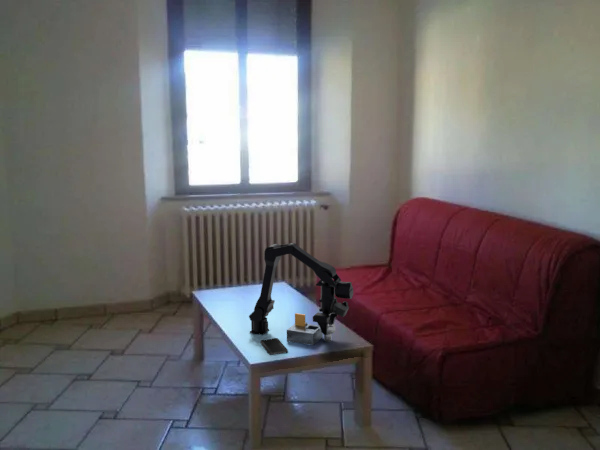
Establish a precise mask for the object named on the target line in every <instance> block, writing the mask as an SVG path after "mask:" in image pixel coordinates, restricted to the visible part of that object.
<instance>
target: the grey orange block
mask: <svg viewBox="0 0 600 450" xmlns="http://www.w3.org/2000/svg"><path fill="white" fill-rule="evenodd" d="M294 324H295V325H298V326H306V325H307V324H308V322H306V314H305V313H304V314H303V313H298V312H297V313H294Z"/></svg>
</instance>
